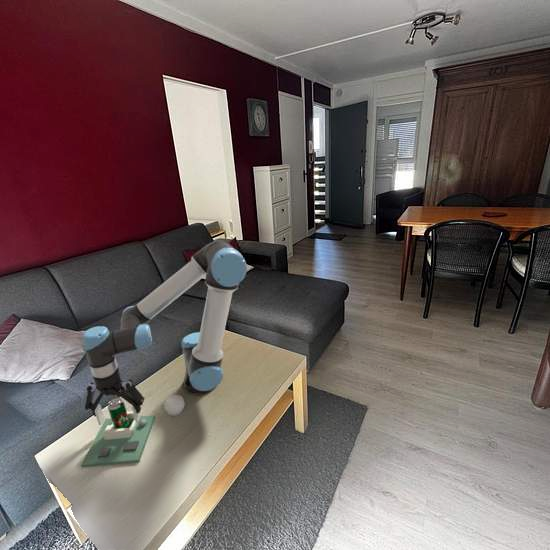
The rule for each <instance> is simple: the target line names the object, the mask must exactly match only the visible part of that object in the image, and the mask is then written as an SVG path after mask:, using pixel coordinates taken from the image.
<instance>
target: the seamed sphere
mask: <svg viewBox="0 0 550 550" xmlns="http://www.w3.org/2000/svg"><path fill="white" fill-rule="evenodd" d="M162 406H164V408H163V409H164V411H165V413H166V414H168V415H169V416H177V415H180V414H181V413H182V412H183V410H184V409H185V399H184V398H183V397H182V396H181V395H179V394H172V395H170V396H169V397H167V398H166V400H165V402H164V404H162V405H160V407H162ZM157 407H159V405H158V406H157ZM157 407H156V408H157Z"/></svg>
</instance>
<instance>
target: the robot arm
mask: <svg viewBox="0 0 550 550" xmlns="http://www.w3.org/2000/svg"><path fill="white" fill-rule="evenodd" d="M247 268H248V267H247V262H246V260H245V258H244V257H243V255H242V254H241V252H239V251H238V250H237V249H236V248H234V247H233V246H232V245H231V243H228V242H227V241H224V240H214V241H212V242H210V243H208V244H206V245H205V246H203V247H202V248H200V249H199V250H198V251H197V252H195V253H194V254H193V255H192V256H191V259H190V261H188V262H187V263H186V264H184V266H183V267H181V268H180V269H179V270H178V271H177V272H175V273H173V274H172V275H171V276H170V277H169V278H168V279H167V280H165V281H164V282H163V283H162V284H160V285H159V286H158V287H156V288H155V289H154V290H153V291H152V292H150V293H149V294H148V295H147V296H145V297H144V298H142V300H141V301H139V302H138V303H136V304H135V305H131V306H127V307H126V308H125V309H123V311H122V313H121V316H120V329H118V330H113V331H109V329H108V327H106V326H104V325H103V326H99V325H98V326H94V327H90V328H89V329H87V330H85V331H84V332H83V334H82V335H81V341H82V345H83V350H84V352H85V356H86V359H87V361H88V365H89V369H90V371H91V372H90V373H91V375H92V377H93V382H92V381H91V382H90V383H89V384H88V385H87V387H86V390H87V395H86V401H85V404H84V410H87V411H88V410H90V411H92V414H93V416H94V417H96V420H97V422H98V425H99V426H102V425H103V423H104V421H105V419H106V418H105V416H104V415H105V414H104V412H103V409H102V405H101V404H99V403H100V401H101V400H102V398H103V396H104V395H105V396H106V397H107V396H117V398H121V399H122V400H123V401H126V402H127V403H128V404H130V405H131V406H132V407H131V411H133V414H134V418H135V421H136V422H138V420H139V418H140V416H141V413H140V412H141V410H142V406H143V405H144V404H143V403H144V401H145V397H144V396H143V395H142V394H141V392H140V391H139V390H138V389H137V387H136V386H135V384H133V380H132V379H128V380H127V381H123V380H122V378H121V376H122V375H121V373H120V369H119V365H118V363H117V362H118V361H117V359H116V355H119V354H123V353H126V352H127V353H128V352H131V351H132V352H133V351H136V350H142V349H144V348H147V347H151V345H152V344H153V338H152V336H153V335H152V332H151V328H150V325H149V324H147V323H149V321H151V320H152V319H153V318H155V317H156V316H157V315H158V314H159V313H160V312H162V311H163V310H164V309H166V308H167V307H168V306H169V305H170V304H172V303H173V302H174V301H175V300H177V299H178V298H179V297H181V296H182V295H183V294H184V293H185V292H187V291H188V290H189V289H191V287H193V286H194V285H195V284H197V283H198V282H199V281H200V280H201V279H203V278H204V277H205V278H204V279H205V280H204V284H205V285H206V286H207V287H208V288H207V293H206V298H205V304H204V309H203V314H202V319H201V325H200V330H199V331H198V332H197V331H196V332H192V333H190V334H187V335H186V336H184V337H183V339H181V349H182V353H183V360H184V365H185V366H184V367H185V373H184V377H183V385H184V389H185V390H186V391H187V392H188V393H191V394H195V395H198V394H199V395H201V394H205V393H209V392H210V391H213V390H214V389H215V388H217V387H218V386H219V385H220V384H221V383H222V382H223V378H224V371H223V369H222V363H223V358H224V351H223V350H222V349H221V348H222V343H223V339H224V334H225V331H226V330H225V329H226V325H227V321H228V316H229V311H230V306H231V301H232V297H233V293H234V292H235V291H236V290H238V289H239V285H240V283H241V282H243V280H244V279H245V277H246V274H247ZM95 390H97V391H98V392H99V393H98V396H97V398H96V399H95V401H94V403H93V400H94V395H95Z"/></svg>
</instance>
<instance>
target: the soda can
mask: <svg viewBox="0 0 550 550" xmlns="http://www.w3.org/2000/svg"><path fill="white" fill-rule="evenodd" d="M107 404H108V406H107V410H108V413H109V416H110V419H112V423H113V426H114V429H122V428H129V426H130V421H129V418H128V414H127V412H128V410H127V407H126V405H125V400H124V399H123V398H122V397H115V398H112V399H111V400H109V401H108V403H107Z"/></svg>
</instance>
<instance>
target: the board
mask: <svg viewBox="0 0 550 550" xmlns="http://www.w3.org/2000/svg"><path fill="white" fill-rule="evenodd" d="M127 414H128V418H129V421H130V426H129V428H122V429H114V426H113V423H112V419H111V418H105V419H104V421H103V423H102V424H101V427H100V429H99V431H98V432H97V435H96V436H95V438H94V439H93V441H92V443H91V446H90V447H89V449H88V451H87V452H86V454H85V456H84V458H83V460H82V462H81V463H80V466H81V468H90V467H92V468H93V467H101V466H113V465H114V466H115V465H125V464H136V463H140V461H141V458H142V455H143V453H144V450H145V447H146V444H147V442H148V438H149V436H150V433H151V431H152V428H153V425H154V423H155V419H156V415H155V414H152V415H150V414H149V415H140V418H139V420H138V422H136V421H135V418H134V414H133V410H131V411H127Z"/></svg>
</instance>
